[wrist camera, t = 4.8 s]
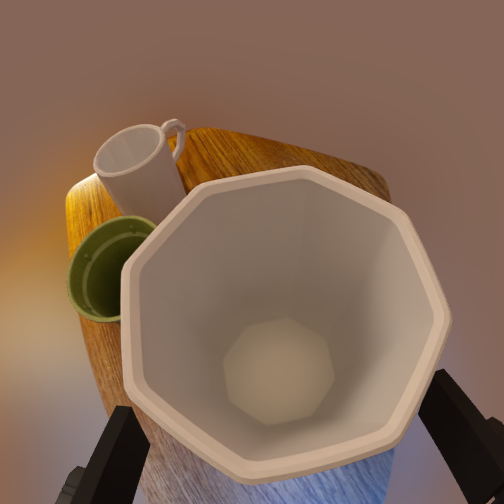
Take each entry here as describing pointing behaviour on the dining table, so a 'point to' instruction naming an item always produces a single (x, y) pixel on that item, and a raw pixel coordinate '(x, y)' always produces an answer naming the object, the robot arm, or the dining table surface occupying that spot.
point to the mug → (143, 170)
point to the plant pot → (104, 266)
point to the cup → (282, 324)
